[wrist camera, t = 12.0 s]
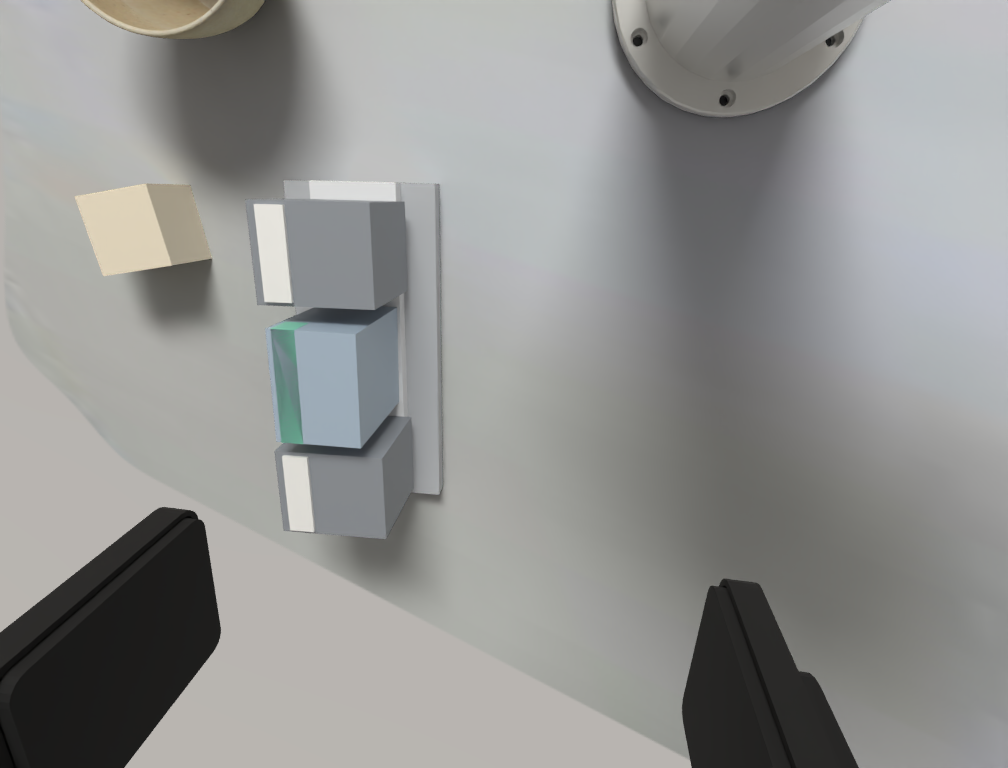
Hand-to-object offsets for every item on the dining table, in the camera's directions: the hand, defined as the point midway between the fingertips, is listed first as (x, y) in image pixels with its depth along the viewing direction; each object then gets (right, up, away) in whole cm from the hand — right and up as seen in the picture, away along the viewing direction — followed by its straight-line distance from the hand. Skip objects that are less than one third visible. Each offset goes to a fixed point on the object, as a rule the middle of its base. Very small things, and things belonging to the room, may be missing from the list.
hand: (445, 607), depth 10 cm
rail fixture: (-7, +7, +26) cm, 28 cm away
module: (-8, +6, +24) cm, 26 cm away
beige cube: (-20, +14, +26) cm, 35 cm away
